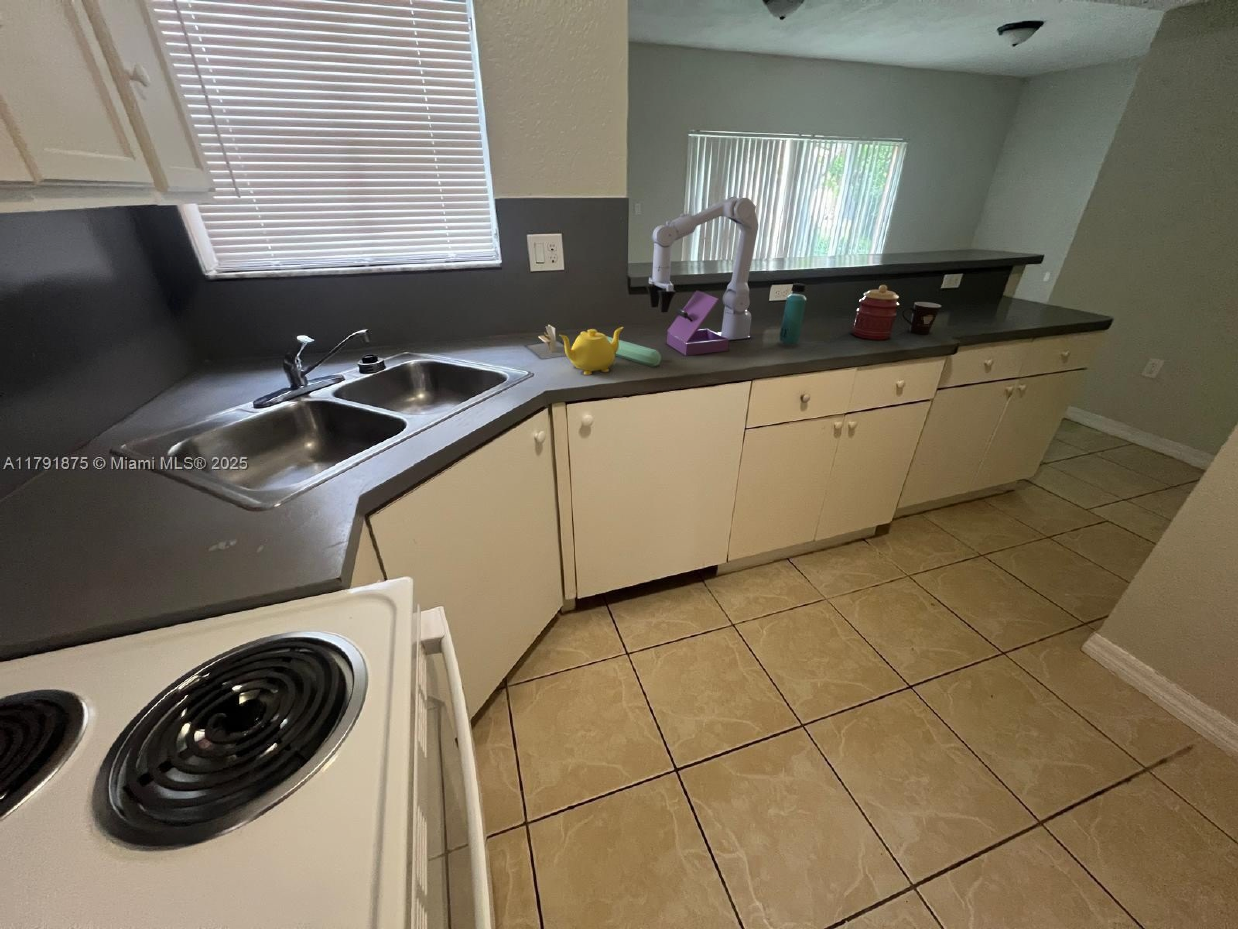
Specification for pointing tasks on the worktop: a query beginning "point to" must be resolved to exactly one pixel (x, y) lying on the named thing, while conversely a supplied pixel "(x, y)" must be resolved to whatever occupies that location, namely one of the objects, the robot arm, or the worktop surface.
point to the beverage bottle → (793, 315)
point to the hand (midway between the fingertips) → (659, 309)
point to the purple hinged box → (692, 315)
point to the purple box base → (699, 343)
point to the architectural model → (548, 345)
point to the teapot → (592, 350)
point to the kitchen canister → (876, 314)
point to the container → (637, 353)
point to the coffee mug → (922, 317)
